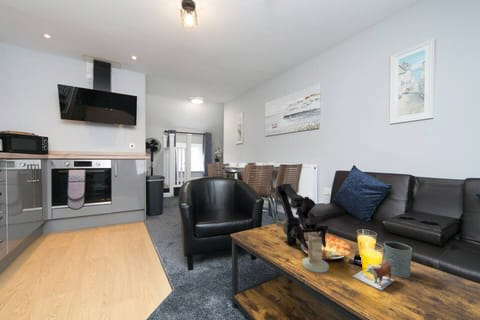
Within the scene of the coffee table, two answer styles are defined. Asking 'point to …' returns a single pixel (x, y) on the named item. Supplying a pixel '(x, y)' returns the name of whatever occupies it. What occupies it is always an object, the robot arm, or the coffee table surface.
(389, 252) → the grey green pot
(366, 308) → the coffee table surface
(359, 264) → the black recessed tray
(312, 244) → the birch block
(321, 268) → the saucer
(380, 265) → the bull figurine
